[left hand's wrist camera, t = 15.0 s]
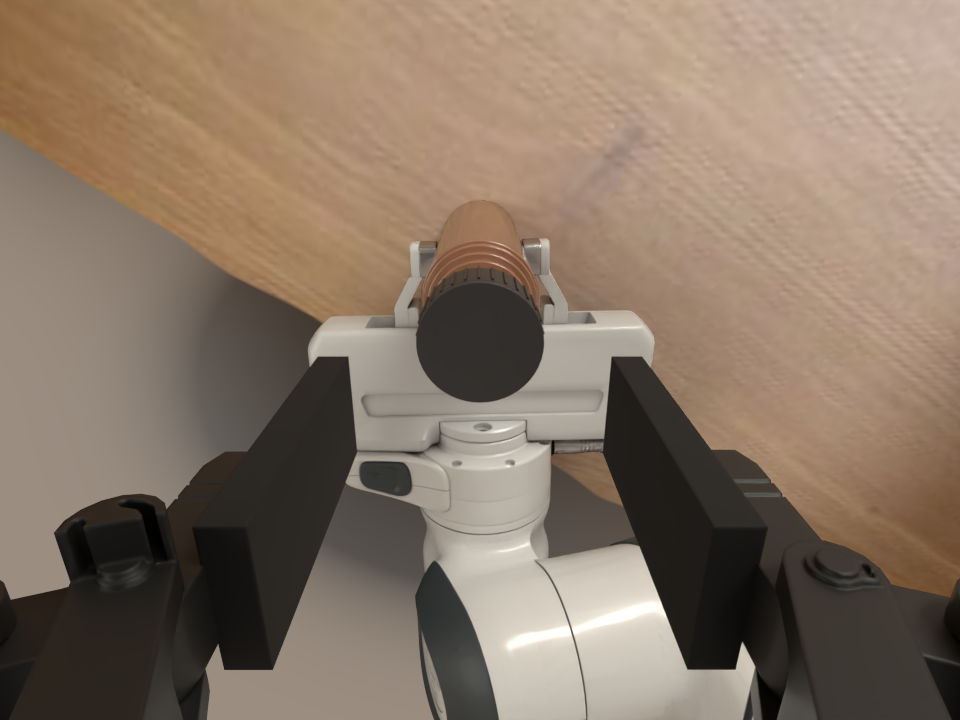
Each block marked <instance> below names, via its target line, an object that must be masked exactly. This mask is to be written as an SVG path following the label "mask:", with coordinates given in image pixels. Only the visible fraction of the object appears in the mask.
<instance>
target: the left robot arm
mask: <svg viewBox="0 0 960 720" xmlns="http://www.w3.org/2000/svg"><path fill="white" fill-rule="evenodd" d="M356 454H357V444H356V433H355V422H354V412H353V401H352V390H351V379H350V368H349V357H348V356H318V357H317V358H316V360H315V361H314V362H313V364H312V365H311V366H310V368H309V369H308V370H307V372H306V373H305V374H304V376H303V377H302V379H301V380H300V381H299V383H298V384H297V385H296V387H295V388H294V389H293V391H292V392H291V393H290V395H289V396H288V398H287V399H286V400H285V402H284V403H283V404H282V406H281V407H280V408H279V410H278V411H277V412H276V414H275V415H274V416H273V418H272V419H271V421H270V422H269V423H268V425H267V426H266V427H265V429H264V430H263V431H262V433H261V434H260V435H259V437H258V438H257V439H256V441H255V442H254V444H253V445H252V446H251V448H250V449H249V450H248V452H224V453H223V454H221V455H220V456H218V457H216V458H215V459H213V460H212V461H210V462H209V463H207V464H205V465H204V466H203V467H202V468H201V469H200V470H199V472H198V473H197V474H196V475H195V476H194V477H193V479H192V480H191V481H190V485H187V486H186V487H185V488H184V489H183V491H182V492H181V493H180V494H179V495H178V499H175V500H174V501H173V502H172V504H171V505H170V506H169V507H168V508H167V510H166V506H165V503H164V502H163V501H161V500H160V499H159V498H157V497H156V496H150V495H145V494H133V495H122V496H118V497H114V498H110V499H106V500H102V501H100V502H97V503H95V504H93V505H91V506H88V507H86V508H84V509H81V510H80V511H78V512H77V513H75V514H74V515H72V516H71V517H69V518H68V519H66V520H65V521H64V522H63V523H62V524H61V525H60V526H59V528H58V529H57V530H56V531H55V532H54V534H55V537H56V541H57V543H58V546H59V549H60V552H61V555H62V558H63V561H64V564H65V567H66V570H67V573H68V576H69V579H70V585H69V587H67V588H63V589H59V590H54V591H50V592H45V593H41V594H36V595H31V596H27V597H22V598H18V599H13V600H10V597H9V595H8V592H7V589H6V587H5V584H4V583H3V582H2V581H1V580H0V720H207V711H208V702H209V693H210V690H209V683H208V678H207V674H206V670H205V668H206V666H207V664H208V662H209V660H210V658H211V656H212V655H213V653H214V651H215V649H216V647H217V645H218V644H219V648H220V653H221V657H222V662H223V666H224V670H273V668H274V665H275V663H276V660H277V657H278V655H279V652H280V650H281V647H282V645H283V642H284V639H285V637H286V634H287V632H288V629H289V627H290V624H291V621H292V619H293V616H294V613H295V611H296V608H297V606H298V603H299V601H300V598H301V596H302V593H303V591H304V588H305V585H306V583H307V580H308V578H309V575H310V573H311V570H312V567H313V565H314V562H315V560H316V557H317V554H318V552H319V549H320V547H321V544H322V542H323V539H324V536H325V534H326V531H327V529H328V526H329V524H330V521H331V518H332V516H333V513H334V511H335V508H336V506H337V503H338V501H339V498H340V495H341V493H342V490H343V488H344V485H345V483H346V480H347V477H348V475H349V472H350V470H351V467H352V465H353V462H354V459H355V457H356ZM603 454H604V457H605V459H606V462H607V465H608V467H609V470H610V472H611V475H612V477H613V480H614V483H615V485H616V488H617V490H618V493H619V495H620V498H621V501H622V503H623V506H624V508H625V511H626V513H627V516H628V519H629V521H630V524H631V526H632V529H633V531H634V534H635V537H636V539H637V542H638V544H639V547H640V549H641V552H642V555H643V557H644V560H645V562H646V565H647V567H648V570H649V573H650V575H651V578H652V580H653V583H654V585H655V588H656V591H657V593H658V596H659V598H660V601H661V603H662V606H663V609H664V611H665V614H666V616H667V619H668V621H669V624H670V627H671V629H672V632H673V634H674V637H675V639H676V642H677V645H678V647H679V650H680V652H681V655H682V657H683V660H684V663H685V665H686V668H687V670H736V666H737V662H738V657H739V653H740V648H741V644H742V642H743V644H744V646H745V648H746V650H747V652H748V654H749V656H750V657H751V659H752V661H753V663H754V665H755V670H754V674H753V678H752V682H751V686H750V690H749V694H748V698H747V702H746V706H745V710H744V715H743V720H752V717H753V719H754V720H960V579H958V580H957V582H956V584H955V587H954V589H953V592H952V594H951V597H945V596H941V595H936V594H931V593H927V592H922V591H917V590H913V589H908V588H903V587H899V586H896V585H892V584H890V581H889V580H888V579H887V577H886V576H885V575H884V573H883V572H882V571H881V569H880V568H879V567H877V566H876V565H875V564H874V563H872V562H871V561H870V560H868V559H867V558H866V557H865V556H863V555H861V554H859V553H857V552H855V551H853V550H851V549H849V548H847V547H845V546H841V545H838V544H834V543H831V542H827V541H822V540H821V539H820V538H819V536H818V535H817V534H816V533H815V532H814V531H813V529H812V528H811V527H810V526H809V525H808V523H807V522H806V521H805V520H804V519H803V518H802V516H801V515H800V514H799V513H798V512H797V510H796V509H795V508H794V507H793V506H792V505H791V503H790V502H789V501H788V500H787V499H786V497H782V493H781V492H780V490H779V489H778V488H777V487H776V486H775V485H774V483H771V480H770V479H769V477H768V476H767V475H766V474H765V473H764V472H763V470H762V469H761V468H760V467H759V466H758V464H756V463H755V462H753V461H752V460H750V459H748V458H747V457H745V456H744V455H742V454H741V453H739V452H737V451H736V450H711V449H710V448H709V446H708V445H707V444H706V442H705V441H704V439H703V438H702V437H701V435H700V434H699V433H698V431H697V430H696V429H695V427H694V426H693V425H692V423H691V422H690V420H689V419H688V418H687V416H686V415H685V414H684V412H683V411H682V410H681V408H680V407H679V406H678V404H677V403H676V402H675V400H674V399H673V397H672V396H671V395H670V393H669V392H668V391H667V389H666V388H665V387H664V385H663V384H662V383H661V381H660V380H659V379H658V377H657V376H656V374H655V373H654V372H653V370H652V369H651V368H650V366H649V365H648V364H647V362H646V361H645V360H644V358H643V357H642V356H612V357H611V368H610V379H609V390H608V401H607V412H606V422H605V433H604V444H603Z"/></svg>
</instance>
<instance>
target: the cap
mask: <svg viewBox="0 0 960 720" xmlns="http://www.w3.org/2000/svg"><path fill="white" fill-rule="evenodd" d="M541 322H542V319H541V316H540V313H539V310H538V307H537V306H536V304H535V301H534V298H533V296H532V295H530V294H529V293H528V291H527V289H526V286H525V285H522V284H521V283H520V282H519V281H517V278H516V277H514V278H513V277H512V276H510V275H508V274H506V273H505V271H503V272H502V271H499V270H496V269H493V267H491V268H480V266H478V268H469V269H468V268H465V270H461V271H459V272H453V274H452V275H450V276H448V277H447V278H446V279H445V278H443V279H442V282H441V283H439V284H438V285H437V286H436V287H435V286H434V287H433V290H432V293H431V294H430V296H429V297H428V296H427V298H426V301H425V304H424V307H423V308H422V311H421V314H420V317H419V320H418V323H417V324H419V326H418V329H417V332H416V349H417V355H418V358H419V362H420V364H421V366H422V369H423V370H424V372H425V374H426V375H427V377H428V378H429V379H430V380H431V382H432V383H433V384H434V385H436V386H437V387H438V388H439V389H440V390H442V391H443V392H445V393H446V394H448V395H450V396H452V397H454V398H457V399H460V400H463V401H468V402H477V403H483V402H492V401H497V400H500V399H503V398H506V397H508V396H510V395H512V394H514V393H515V392H517V391H519V390H520V389H521V388H522V387H524V386H525V385H526V384H527V383H528V382H529V381H530V380H531V378H532V377H533V376H534V374H535V373H536V371H537V369H538V367H539V365H540V362H541V360H542V356H543V351H544V334H545V333H544V329H543V326H542V323H541Z"/></svg>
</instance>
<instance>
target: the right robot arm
mask: <svg viewBox="0 0 960 720" xmlns="http://www.w3.org/2000/svg"><path fill="white" fill-rule="evenodd" d="M437 245H438V242H437V241H412V242H411V244H410V264H411V275H410V277H409V279H408V281H407V283H406V285H405V287H404V289H403V291H402V293H401V295H400V297H399V299H398V301H397V303H396V305H395V307H394V313H395V315H370V316H333V317H330V318H329V319H327V320H326V321H325V322H324V323H323V324H322V325H321V326H320V327H319V328H318V330H317V331H316V332H315V334H314V335H313V337H312V338H311V340H310V343H309V347H308V357H309V364H310V366H311V365H312V364H313V362H314V361H315V360H316V358H317V357H318V356H348V357H349V368H350V379H351V390H352V401H353V412H354V422H355V433H356V444H357V454H356V457H355V459H354V462H353V465H352V467H351V470H350V472H349V475H348V477H347V480H346V483H347V484H348V485H349V486H351V487H354V488H357V489H360V490H365V491H369V492H373V493H377V494H381V495H385V496H388V497H392V498H395V499H399V500H402V501H405V502H408V503H411V504H414V505H417V506H420V509H421V512H422V514H423V517H424V519H425V521H426V524H427V531H426V535H425V538H424V544H423V559H424V571H425V574H424V576H423V578H422V581H421V583H420V586H419V588H418V590H417V593H416V596H415V599H416V608H417V616H418V630H419V647H420V658H421V667H422V674H423V680H424V685H425V690H426V694H427V698H428V702H429V705H430V709H431V712H432V715H433V718H434V720H743V715H744V710H745V706H746V702H747V698H748V694H749V690H750V686H751V682H752V678H753V674H754V670H755V665H754V663H753V661H752V659H751V657H750V656H749V654H748V652H747V650H746V648H745V646H744V644H743V642H742V644H741V648H740V653H739V657H738V662H737V666H736V670H687V668H686V665H685V663H684V660H683V657H682V655H681V652H680V650H679V647H678V645H677V642H676V639H675V637H674V634H673V632H672V629H671V627H670V624H669V621H668V619H667V616H666V614H665V611H664V609H663V606H662V603H661V601H660V598H659V596H658V593H657V591H656V588H655V585H654V583H653V580H652V578H651V575H650V573H649V570H648V567H647V565H646V562H645V560H644V557H643V555H642V552H641V549H640V547H639V544H638V542H637V539H636V537H633V538H629V539H626V540H623V541H620V542H616V543H614V544H611V545H609V546H608V547H604V548H598V549H594V550H589V551H584V552H579V553H574V554H569V555H564V556H559V557H554V558H549V559H548V557H549V548H548V539H547V536H546V533H545V530H544V519H545V517H546V514H547V512H548V509H549V503H550V488H551V455H553V454H575V453H584V452H593V451H594V452H601V453H603V444H604V433H605V422H606V412H607V401H608V390H609V379H610V368H611V357H612V356H642V357H643V358H644V360H645V361H646V362H647V364H648V365H649V366H650V368H651V365H652V360H653V354H654V345H655V341H654V336H653V334H652V332H651V330H650V329H649V328H648V326H647V325H646V324H645V322H644V321H643V320H642V319H640V318H639V317H638V316H637V315H636V314H635V313H634V312H632V311H630V310H608V311H568V303H567V301H566V299H565V297H564V295H563V294H562V292H561V290H560V288H559V286H558V285H557V283H556V281H555V279H554V278H553V276H552V274H551V272H550V270H549V266H550V244H549V240H548V239H547V238H540V239H538V238H537V239H522V245H523V248H524V250H525V253H526V255H527V258H528V260H529V263H530V265H531V268H532V271H533V273H534V275H538V277H539V278H540V280H541V282H542V284H543V285H544V287H545V289H546V291H547V292H548V294H549V296H550V297H549V296H548V295H542V296H541V297H540V312H539V313H540V316H541V319H542V322H541V323H542V326H543V329H544V333H545V334H544V351H543V356H542V360H541V362H540V365H539V367H538V369H537V371H536V373H535V374H534V376H533V377H532V378H531V380H530V381H529V382H528V383H527V384H526V385H525V386H524V387H522V388H521V389H520V390H519V391H517V392H515V393H514V394H512V395H510V396H508V397H506V398H503V399H500V400H497V401H492V402H483V403H477V402H468V401H463V400H460V399H457V398H454V397H452V396H450V395H448V394H446V393H445V392H443V391H442V390H440V389H439V388H438V387H437V386H436V385H434V384H433V383H432V382H431V380H430V379H429V378H428V377H427V375H426V374H425V372H424V370H423V369H422V366H421V364H420V362H419V358H418V355H417V349H416V332H417V329H418V326H419V324H417V323H418V320H419V317H420V314H421V311H422V300H421V299H420V298H414V299H413V300H412V298H413V296H414V294H415V292H416V290H417V288H418V286H419V284H420V282H421V280H422V278H423V277H425V276H426V273H427V271H428V268H429V266H430V263H431V260H432V258H433V255H434V253H435V250H436V248H437ZM752 720H754V719H753V717H752Z"/></svg>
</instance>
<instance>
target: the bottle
mask: <svg viewBox="0 0 960 720" xmlns="http://www.w3.org/2000/svg"><path fill="white" fill-rule="evenodd" d="M478 266H480V268H491V267H493V269H496V270H499V271H502V272H503V271H505V273H506V274H508V275H510V276H512V277H513V278H514V277H516V278H517V281H519V282H520V283H521V284H522V285H525V286H526V289H527V291H528V293H529V294H530V295H532V296H533V298H534V301H535V304H536V306H537V307H538V299H539V295H538V286H537V282H536V279H535V276H534V273H533V271H532V268H531V265H530V263H529V260H528V258H527V255H526V253H525V250H524V248H523V245H522V243H521V240H520V238H519V235H518V233H517V230H516V228H515V225H514V223H513V221H512V219H511V217H510V216H509V214H508V213H507V212H506V211H505V210H504V209H503V208H501V207H500V206H498V205H497V204H494V203H492V202H489V201H481V200H478V201H471V202H468V203H465V204H463V205H461V206H460V207H458V208H457V209H456V210H455V211H454V212H453V213H452V214H451V215H450V217H449V218H448V220H447V222H446V225H445V227H444V230H443V232H442V235H441V237H440V240H439V243H438V245H437V248H436V250H435V253H434V255H433V258H432V260H431V263H430V266H429V268H428V271H427V273H426V276H425V279H424V282H423V286H422V307H424V304H425V301H426V298H427V296H428V297H429V296H430V294H431V293H432V290H433V287H434V286H435V287H436V286H437V285H438V284H439V283H441V282H442V279H443V278H445V279H446V278H447V277H448V276H450V275H452V274H453V272H459V271H461V270H465V268H468V269H469V268H478Z"/></svg>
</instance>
